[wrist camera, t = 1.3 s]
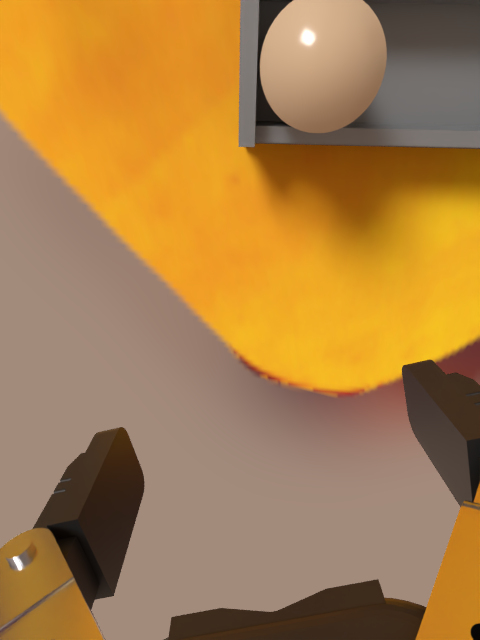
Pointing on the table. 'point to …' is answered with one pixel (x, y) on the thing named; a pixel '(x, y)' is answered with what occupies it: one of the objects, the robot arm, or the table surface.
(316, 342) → the table surface
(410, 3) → the lane
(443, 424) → the robot arm
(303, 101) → the beige domed canister
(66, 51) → the table surface
